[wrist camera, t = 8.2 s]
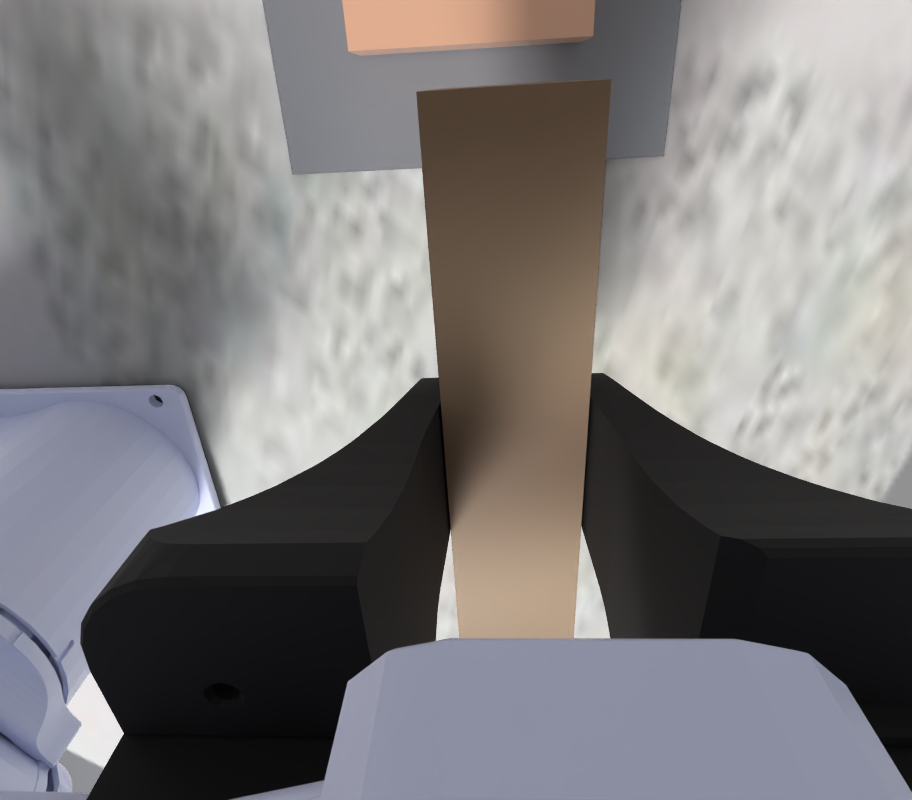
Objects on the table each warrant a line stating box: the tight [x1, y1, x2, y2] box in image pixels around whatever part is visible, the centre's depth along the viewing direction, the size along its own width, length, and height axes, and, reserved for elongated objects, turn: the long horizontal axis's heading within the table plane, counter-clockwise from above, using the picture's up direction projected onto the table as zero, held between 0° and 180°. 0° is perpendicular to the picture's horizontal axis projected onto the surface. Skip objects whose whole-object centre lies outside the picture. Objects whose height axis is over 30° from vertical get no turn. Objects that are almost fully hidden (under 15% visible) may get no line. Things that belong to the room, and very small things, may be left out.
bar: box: [416, 79, 611, 638], centre depth 12 cm, size 12×2×5 cm, turn 3°
